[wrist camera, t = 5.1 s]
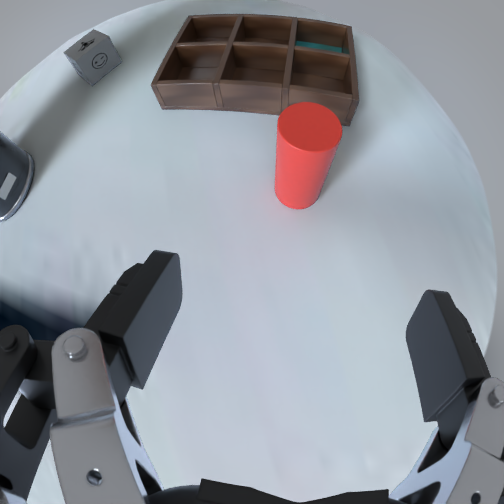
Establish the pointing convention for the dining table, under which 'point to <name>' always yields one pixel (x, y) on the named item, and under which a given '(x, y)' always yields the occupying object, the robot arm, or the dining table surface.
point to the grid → (259, 65)
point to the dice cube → (93, 56)
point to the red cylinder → (304, 152)
